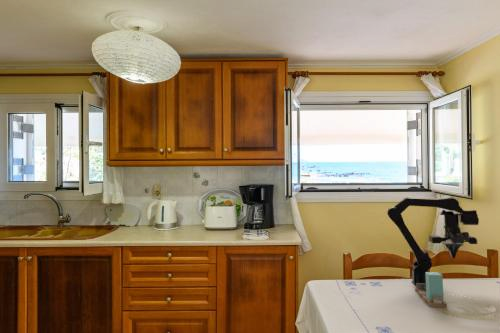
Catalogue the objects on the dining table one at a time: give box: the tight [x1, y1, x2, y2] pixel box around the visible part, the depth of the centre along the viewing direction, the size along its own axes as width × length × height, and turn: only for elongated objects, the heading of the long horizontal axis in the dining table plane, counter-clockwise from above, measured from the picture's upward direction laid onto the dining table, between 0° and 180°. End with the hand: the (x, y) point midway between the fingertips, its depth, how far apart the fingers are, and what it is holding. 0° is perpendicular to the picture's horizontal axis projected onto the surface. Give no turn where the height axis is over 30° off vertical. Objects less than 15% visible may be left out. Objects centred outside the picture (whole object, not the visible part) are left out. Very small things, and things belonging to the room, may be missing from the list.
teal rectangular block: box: [426, 271, 444, 301], centre depth 132 cm, size 4×5×10 cm
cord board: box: [414, 283, 448, 309], centre depth 138 cm, size 20×6×4 cm, turn 168°
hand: (453, 258), depth 154 cm, fingers closed
